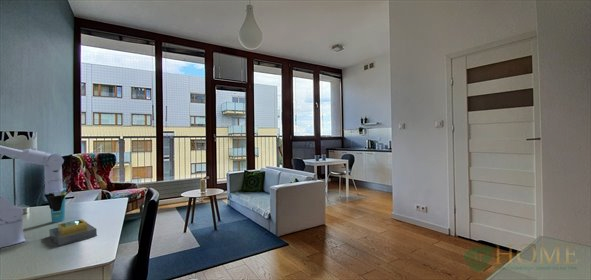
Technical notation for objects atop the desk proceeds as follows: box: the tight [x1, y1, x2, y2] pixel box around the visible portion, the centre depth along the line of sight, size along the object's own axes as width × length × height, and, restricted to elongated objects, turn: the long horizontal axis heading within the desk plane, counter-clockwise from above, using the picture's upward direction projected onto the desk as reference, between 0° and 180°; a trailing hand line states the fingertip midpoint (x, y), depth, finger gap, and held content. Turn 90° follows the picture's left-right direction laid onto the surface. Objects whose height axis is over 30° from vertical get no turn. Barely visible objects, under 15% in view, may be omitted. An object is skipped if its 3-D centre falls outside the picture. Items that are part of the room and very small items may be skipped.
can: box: [65, 220, 79, 227], centre depth 108 cm, size 4×4×6 cm
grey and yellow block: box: [48, 218, 98, 247], centre depth 108 cm, size 12×18×6 cm, turn 53°
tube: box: [50, 183, 67, 223], centre depth 130 cm, size 7×5×19 cm, turn 123°
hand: (55, 209), depth 115 cm, fingers open, 7 cm apart
